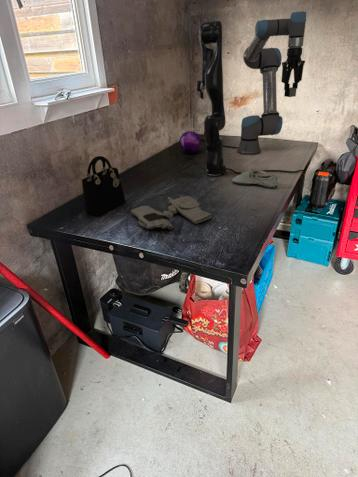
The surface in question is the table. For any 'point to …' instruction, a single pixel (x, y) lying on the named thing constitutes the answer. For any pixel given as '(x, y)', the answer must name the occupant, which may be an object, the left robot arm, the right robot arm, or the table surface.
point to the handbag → (102, 188)
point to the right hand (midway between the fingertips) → (290, 95)
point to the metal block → (292, 92)
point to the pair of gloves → (170, 213)
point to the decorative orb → (190, 142)
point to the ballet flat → (256, 179)
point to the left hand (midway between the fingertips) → (208, 98)
